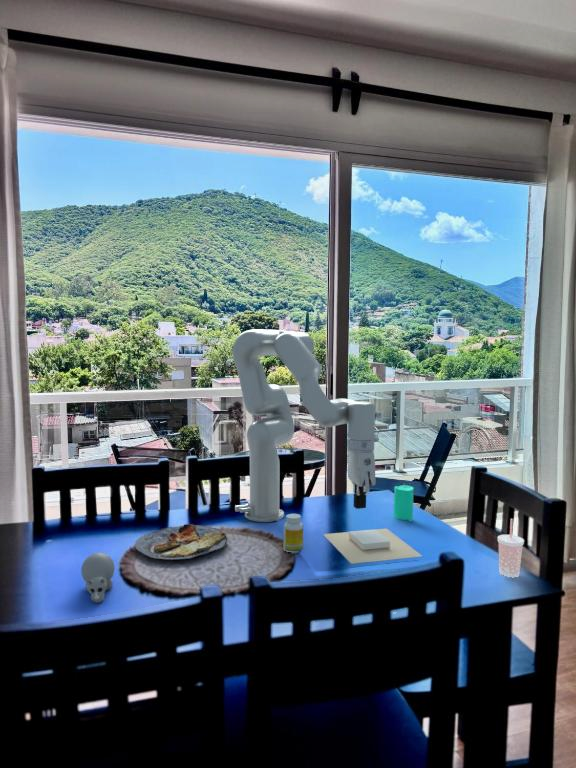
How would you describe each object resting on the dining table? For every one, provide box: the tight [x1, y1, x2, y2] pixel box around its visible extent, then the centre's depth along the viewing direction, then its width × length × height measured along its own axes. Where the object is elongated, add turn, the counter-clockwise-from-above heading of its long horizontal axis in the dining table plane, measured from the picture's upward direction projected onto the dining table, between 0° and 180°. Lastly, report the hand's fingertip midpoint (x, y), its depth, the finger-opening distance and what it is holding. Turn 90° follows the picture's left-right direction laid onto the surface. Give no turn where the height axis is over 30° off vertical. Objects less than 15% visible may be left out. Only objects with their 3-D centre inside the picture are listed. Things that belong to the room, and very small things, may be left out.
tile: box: [348, 529, 390, 551], centre depth 160 cm, size 8×2×10 cm
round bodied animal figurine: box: [80, 552, 115, 604], centre depth 130 cm, size 7×12×8 cm, turn 13°
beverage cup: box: [497, 518, 525, 579], centre depth 142 cm, size 6×6×14 cm
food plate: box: [134, 523, 228, 561], centre depth 159 cm, size 25×23×4 cm
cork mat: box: [322, 528, 423, 565], centre depth 159 cm, size 20×22×1 cm
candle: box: [393, 484, 415, 523], centre depth 183 cm, size 6×6×12 cm
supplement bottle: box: [282, 513, 304, 554], centre depth 157 cm, size 5×5×10 cm
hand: (359, 507), depth 166 cm, fingers closed
